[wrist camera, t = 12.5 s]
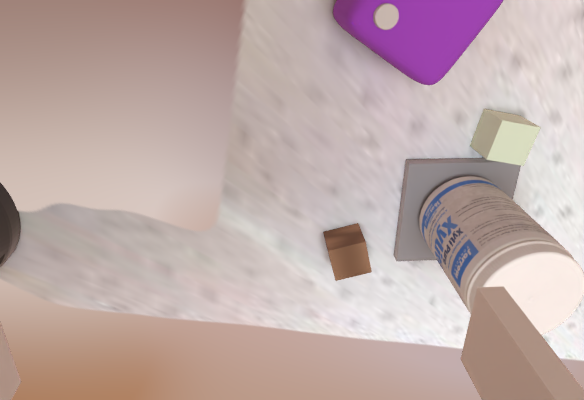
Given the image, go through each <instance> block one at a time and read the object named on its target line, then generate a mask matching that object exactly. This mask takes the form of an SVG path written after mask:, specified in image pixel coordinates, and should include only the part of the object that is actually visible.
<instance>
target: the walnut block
mask: <svg viewBox="0 0 584 400" xmlns="http://www.w3.org/2000/svg"><path fill="white" fill-rule="evenodd" d="M323 233H324V237H325V241H326V245H327V249H328V253H329V257H330V261H331V265H332V269H333V272H334V276H335V280H336V281H337V280H341V279H345V278H349V277H353V276H358V275H362V274H366V273H370V272H371V267H370V262H369V257H368V252H367V247H366V242H365V239H364V237H363V234H362V232H361V229H360V227H359V224H358V223H357V224H353V225H349V226H345V227H341V228H337V229H333V230H329V231H325V232H323Z"/></svg>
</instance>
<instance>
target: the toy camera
mask: <svg viewBox="0 0 584 400" xmlns="http://www.w3.org/2000/svg"><path fill="white" fill-rule="evenodd" d="M502 2H503V0H337V1H336V3H335V5H334V9H333V15H334V18H335V20H336V21H337V22H338V24H339V25H340V26H341V27H342V28H343V29H345V30H346V31H347V32H348V33H350V34H351V35H352V36H353V37H355V38H356V39H357V40H359V41H360V42H362V43H363V44H364V45H366V46H367V47H368V48H370V49H371V50H372V51H374V52H375V53H376V54H378V55H379V56H380V57H382V58H383V59H384V60H386V61H387V62H389V63H390V64H391V65H393V66H394V67H395V68H397V69H398V70H400V71H401V72H402V73H404V74H405V75H407V76H408V77H410V78H411V79H413V80H415V81H417V82H419V83H421V84H425V85H433V84H435V83H437V82H438V81H439V80H441V79H442V78H443V77H444V76H445V74H446V73H447V72H448V71H449V70H450V69H451V67H452V66H453V65H454V64H455V62H456V61H457V60H458V59H459V57H460V56H461V55H462V54H463V52H464V51H465V50H466V49H467V47H468V46H469V45H470V44H471V42H472V41H473V40H474V38H475V37H476V36H477V35H478V33H479V32H480V31H481V30H482V28H483V27H484V26H485V25H486V23H487V22H488V21H489V19H490V18H491V17H492V16H493V14H494V13H495V12H496V10H497V9H498V8H499V6H500V5H501V3H502Z"/></svg>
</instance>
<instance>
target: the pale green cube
mask: <svg viewBox="0 0 584 400" xmlns="http://www.w3.org/2000/svg"><path fill="white" fill-rule="evenodd" d="M540 128H541V127H539V126H537V125H535V124H534V123H532V122H530V121H528V120H527V119H525V118H523V117H521V116H519V115H514V114H509V113H503V112H498V111H493V110H487V109H484V110H483V113H482V115H481V118H480V121H479V123H478V126H477V128H476V131H475V133H474V136H473V139H472V141H471V144H470V146H471V147H472V148H473V149H474V150H476V151H477V152H478V153H479V154H480V155H482V156H483V157H484V158H485V159H486V160H492V161H498V162H504V163H509V164H515V165H521V166H524V164H525V161H526V159H527V157H528V155H529V152H530V150H531V148H532V146H533V143H534V141H535V139H536V137H537V135H538V132H539V130H540Z"/></svg>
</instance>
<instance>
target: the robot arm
mask: <svg viewBox="0 0 584 400" xmlns="http://www.w3.org/2000/svg"><path fill="white" fill-rule="evenodd" d="M19 236H20V220H19V215H18V212H17V209H16V206H15V204H14V202H13V200H12V198H11V196H10V195H9V193H8V192H7V190H6V189H5V188H4V187H3V185H2V184H1V183H0V267H1V266H2V265H3V264H4V263H5V262H6V260H7V259H8V258H9V257H10V256H11V254H12V253H13V251H14V250H15V248H16V246H17V243H18V240H19ZM461 361H462V363H463V365H464V367H465V369H466V370H467V372H468V374H469V376H470V378H471V380H472V382H473V384H474V386H475V387H476V389H477V391H478V393H479V395H480V397H481V399H482V400H584V390H583V388H582V387H581V386H580V384H579V383H578V382H577V381H576V379H575V378H574V377H573V375H572V374H571V373H570V372H569V370H568V369H567V368H566V366H565V365H564V364H563V363H562V361H561V360H560V359H559V357H558V356H557V355H556V354H555V352H554V351H553V350H552V348H551V347H550V346H549V345H548V343H547V342H546V341H545V339H544V338H543V337H542V335H541V334H540V333H539V332H538V330H537V329H536V328H535V326H534V325H533V324H532V323H531V321H530V320H529V319H528V317H527V316H526V315H525V314H524V312H523V311H522V310H521V308H520V307H519V306H518V305H517V303H516V302H515V301H514V299H513V298H512V297H511V296H510V294H509V293H508V292H507V290H506V289H505V288H504V286H501V287H477V291H476V295H475V300H474V304H473V308H472V313H471V317H470V321H469V326H468V330H467V334H466V338H465V343H464V347H463V351H462V356H461ZM20 383H21V380H20V377H19V374H18V371H17V368H16V365H15V362H14V359H13V356H12V354H11V351H10V348H9V345H8V342H7V339H6V336H5V333H4V331H3V328H2V325H1V322H0V400H11V399H12V397H13V395H14V394H15V392H16V390H17V388H18V387H19V385H20Z"/></svg>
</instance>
